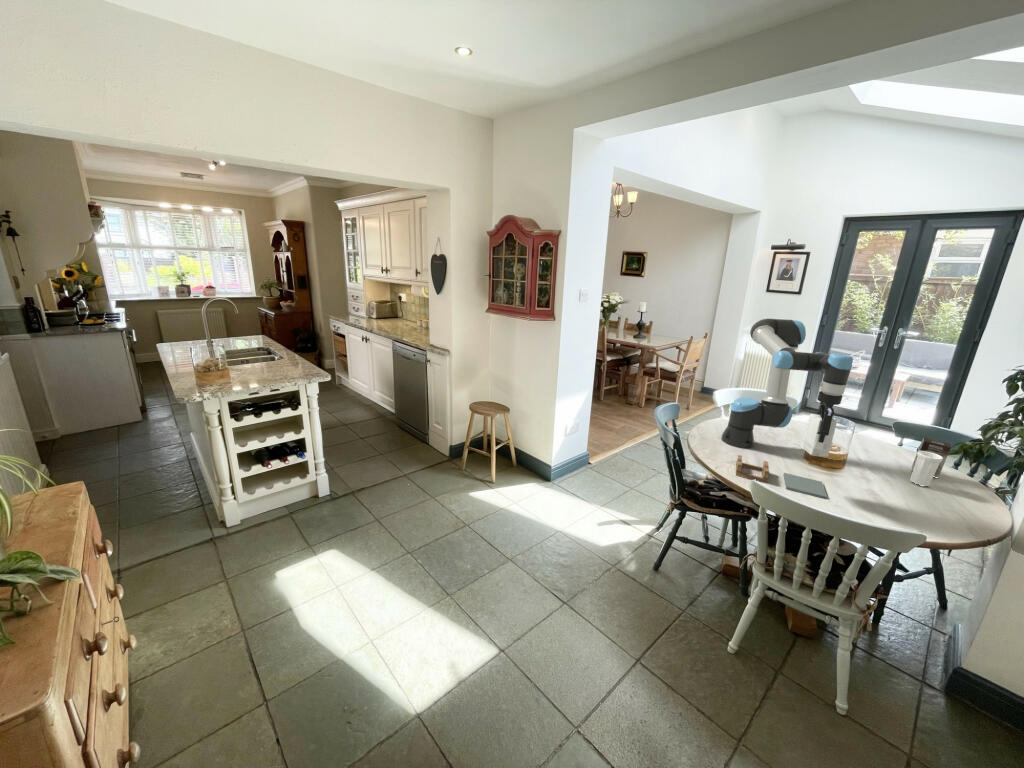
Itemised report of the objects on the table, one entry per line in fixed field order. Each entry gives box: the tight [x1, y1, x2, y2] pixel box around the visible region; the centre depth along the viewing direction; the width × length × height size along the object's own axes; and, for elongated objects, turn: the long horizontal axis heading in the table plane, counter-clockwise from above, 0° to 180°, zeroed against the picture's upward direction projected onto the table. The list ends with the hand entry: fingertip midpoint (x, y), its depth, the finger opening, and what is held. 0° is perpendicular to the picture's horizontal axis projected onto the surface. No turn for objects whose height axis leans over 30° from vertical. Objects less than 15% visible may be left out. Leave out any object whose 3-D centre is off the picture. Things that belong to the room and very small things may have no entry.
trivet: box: [782, 472, 828, 500], centre depth 176 cm, size 14×14×1 cm
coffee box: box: [911, 437, 952, 478], centre depth 190 cm, size 9×6×16 cm
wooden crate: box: [735, 454, 770, 484], centre depth 184 cm, size 12×12×5 cm
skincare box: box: [802, 413, 838, 458], centre depth 169 cm, size 8×7×16 cm
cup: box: [909, 450, 943, 486], centre depth 181 cm, size 8×8×14 cm
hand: (816, 444), depth 170 cm, fingers closed on skincare box, 9 cm apart
